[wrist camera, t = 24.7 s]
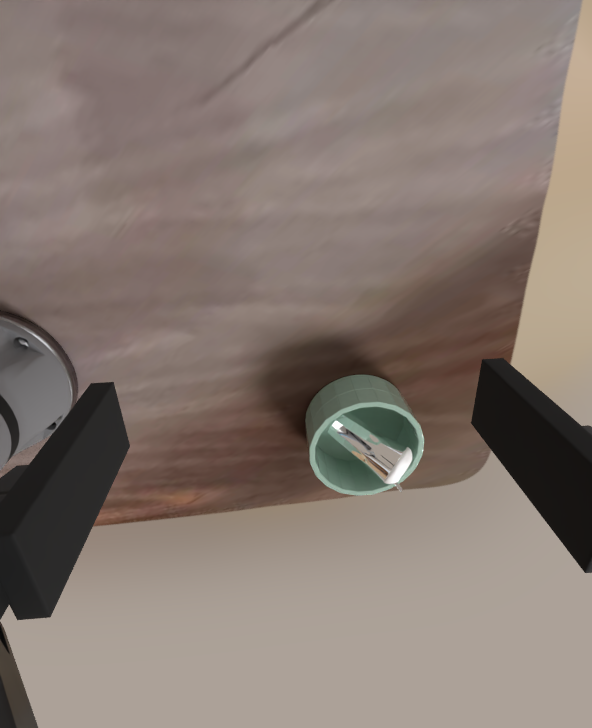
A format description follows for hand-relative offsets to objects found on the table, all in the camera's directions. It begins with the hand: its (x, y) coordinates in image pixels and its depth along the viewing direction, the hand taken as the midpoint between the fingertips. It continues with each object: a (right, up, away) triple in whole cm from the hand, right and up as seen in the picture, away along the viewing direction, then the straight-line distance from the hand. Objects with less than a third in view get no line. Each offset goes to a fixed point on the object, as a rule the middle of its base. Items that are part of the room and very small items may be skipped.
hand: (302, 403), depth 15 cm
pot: (+7, -5, +35) cm, 36 cm away
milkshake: (+4, -5, +33) cm, 34 cm away
